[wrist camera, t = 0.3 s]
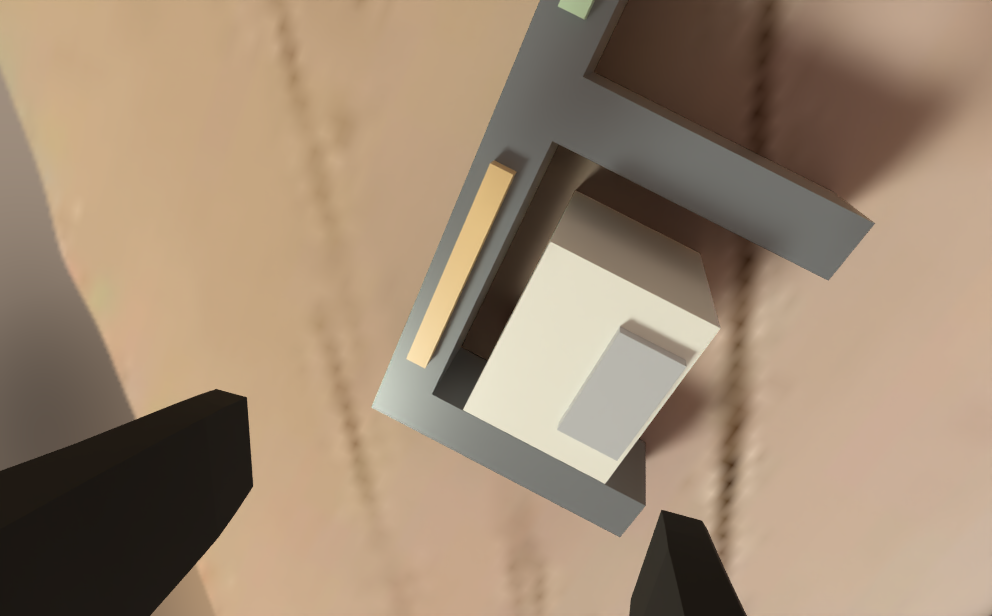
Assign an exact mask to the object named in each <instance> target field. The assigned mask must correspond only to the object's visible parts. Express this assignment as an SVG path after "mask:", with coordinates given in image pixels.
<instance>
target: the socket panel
mask: <svg viewBox="0 0 992 616" xmlns="http://www.w3.org/2000/svg"><path fill="white" fill-rule="evenodd" d="M627 2H628V0H540V2H539V4H538V6H537V9H536V11H535V14H534V16H533V18H532V21H531V23H530V26H529V28H528V31H527V33H526V35H525V38H524V40H523V43H522V45H521V47H520V50H519V52H518V55H517V57H516V60H515V62H514V64H513V67H512V69H511V72H510V74H509V76H508V79H507V81H506V84H505V86H504V89H503V91H502V93H501V96H500V98H499V101H498V103H497V105H496V108H495V110H494V113H493V115H492V117H491V120H490V122H489V125H488V127H487V130H486V132H485V134H484V137H483V139H482V142H481V144H480V146H479V149H478V151H477V154H476V156H475V159H474V161H473V163H472V166H471V168H470V171H469V173H468V175H467V178H466V180H465V183H464V185H463V188H462V190H461V192H460V195H459V197H458V200H457V202H456V204H455V207H454V209H453V212H452V214H451V216H450V219H449V221H448V224H447V226H446V229H445V231H444V233H443V236H442V238H441V241H440V243H439V245H438V248H437V250H436V253H435V255H434V258H433V260H432V262H431V265H430V267H429V270H428V272H427V274H426V277H425V279H424V282H423V284H422V287H421V289H420V291H419V294H418V296H417V299H416V301H415V303H414V306H413V308H412V311H411V313H410V315H409V318H408V320H407V323H406V325H405V328H404V330H403V332H402V335H401V337H400V340H399V342H398V344H397V347H396V349H395V352H394V354H393V357H392V359H391V361H390V364H389V366H388V369H387V371H386V373H385V376H384V378H383V381H382V383H381V385H380V388H379V390H378V393H377V395H376V398H375V400H374V402H373V405H372V408H374V409H375V410H377V411H379V412H381V413H383V414H385V415H387V416H389V417H391V418H393V419H395V420H396V421H398V422H400V423H402V424H404V425H406V426H408V427H410V428H412V429H414V430H416V431H418V432H419V433H421V434H423V435H425V436H427V437H429V438H431V439H433V440H435V441H437V442H439V443H440V444H442V445H444V446H446V447H448V448H450V449H452V450H454V451H456V452H458V453H460V454H462V455H463V456H465V457H467V458H469V459H471V460H473V461H475V462H477V463H479V464H481V465H483V466H485V467H486V468H488V469H490V470H492V471H494V472H496V473H498V474H500V475H502V476H504V477H506V478H507V479H509V480H511V481H513V482H515V483H517V484H519V485H521V486H523V487H525V488H527V489H529V490H530V491H532V492H534V493H536V494H538V495H540V496H542V497H544V498H546V499H548V500H550V501H551V502H553V503H555V504H557V505H559V506H561V507H563V508H565V509H567V510H569V511H571V512H573V513H574V514H576V515H578V516H580V517H582V518H584V519H586V520H588V521H590V522H592V523H594V524H596V525H597V526H599V527H601V528H603V529H605V530H607V531H609V532H611V533H613V534H615V535H617V536H618V537H621V535H622V534H623V533H624V532H625V530H626V529H627V528H628V527H629V526H630V524H631V523H632V522H633V521H634V519H635V518H636V517H637V516H638V514H639V513H640V512H641V511H642V510H643V508H644V507H645V506H646V462H645V442H643V441H641V440H639V439H638V440H637V442H636V443H635V444H634V446H633V447H632V448H631V450H630V451H629V452H628V454H627V455H626V456H625V458H624V459H623V460H622V462H621V463H620V464H619V466H618V467H617V468H616V470H615V471H614V473H613V474H612V475H611V477H610V478H609V479H608V481H607V482H606V483H605V484H604V483H602V482H600V481H598V480H597V479H595V478H593V477H591V476H589V475H587V474H585V473H583V472H581V471H579V470H577V469H575V468H573V467H571V466H570V465H568V464H566V463H564V462H562V461H560V460H558V459H556V458H554V457H552V456H550V455H548V454H546V453H545V452H543V451H541V450H539V449H537V448H535V447H533V446H531V445H529V444H527V443H525V442H523V441H521V440H520V439H518V438H516V437H514V436H512V435H510V434H508V433H506V432H504V431H502V430H500V429H498V428H496V427H494V426H493V425H491V424H489V423H487V422H485V421H483V420H481V419H479V418H477V417H475V416H473V415H471V414H469V413H468V412H466V411H464V410H463V409H464V407H465V405H466V403H467V401H468V399H469V397H470V395H471V393H472V391H473V389H474V387H475V385H476V383H477V381H478V379H479V377H480V375H481V373H482V371H483V369H484V367H485V365H486V363H487V361H486V360H484V359H482V358H481V357H479V356H477V355H475V354H473V353H471V352H469V351H467V350H465V349H463V348H461V346H462V344H463V342H464V340H465V338H466V336H467V334H468V332H469V330H470V327H471V325H472V323H473V321H474V319H475V317H476V315H477V313H478V311H479V309H480V307H481V305H482V303H483V300H484V298H485V296H486V294H487V292H488V290H489V288H490V286H491V284H492V282H493V280H494V278H495V276H496V274H497V271H498V269H499V267H500V265H501V263H502V261H503V259H504V257H505V255H506V253H507V251H508V249H509V247H510V244H511V242H512V240H513V238H514V236H515V234H516V232H517V230H518V228H519V226H520V224H521V222H522V220H523V218H524V215H525V213H526V211H527V209H528V207H529V205H530V203H531V201H532V199H533V197H534V195H535V193H536V191H537V188H538V186H539V184H540V182H541V180H542V178H543V176H544V174H545V172H546V170H547V168H548V166H549V164H550V162H551V159H552V157H553V155H554V153H555V151H556V149H557V147H558V145H561V146H563V147H565V148H567V149H569V150H571V151H573V152H575V153H577V154H579V155H581V156H583V157H585V158H587V159H589V160H591V161H593V162H595V163H597V164H599V165H601V166H603V167H604V168H606V169H608V170H610V171H612V172H614V173H616V174H618V175H620V176H622V177H624V178H626V179H628V180H630V181H632V182H634V183H636V184H638V185H640V186H642V187H644V188H646V189H648V190H650V191H652V192H654V193H656V194H658V195H660V196H662V197H664V198H666V199H668V200H670V201H672V202H674V203H676V204H678V205H680V206H682V207H684V208H686V209H688V210H690V211H692V212H694V213H696V214H698V215H700V216H702V217H703V218H705V219H707V220H709V221H711V222H713V223H715V224H717V225H719V226H721V227H723V228H725V229H727V230H729V231H731V232H733V233H735V234H737V235H739V236H741V237H743V238H745V239H747V240H749V241H751V242H753V243H755V244H757V245H759V246H761V247H763V248H765V249H767V250H769V251H771V252H773V253H775V254H777V255H779V256H781V257H783V258H785V259H787V260H789V261H791V262H793V263H795V264H797V265H799V266H800V267H802V268H804V269H806V270H808V271H810V272H812V273H814V274H816V275H818V276H820V277H822V278H824V279H826V280H828V281H829V279H830V278H831V277H832V276H833V274H834V273H835V272H836V271H837V269H838V268H839V267H840V266H841V265H842V263H843V262H844V261H845V260H846V258H847V257H848V256H849V255H850V253H851V252H852V251H853V250H854V249H855V247H856V246H857V245H858V244H859V242H860V241H861V240H862V239H863V237H864V236H865V235H866V234H867V233H868V231H869V230H870V229H871V228H872V226H873V225H874V224H875V223H874V222H873V221H871V220H870V219H869V218H867V217H866V216H865V215H863V214H862V213H861V212H859V211H858V210H857V209H855V208H854V207H853V206H851V205H850V204H849V203H847V202H846V201H845V200H843V199H842V198H841V197H839V196H838V195H837V194H835V193H834V192H832V191H830V190H828V189H826V188H824V187H822V186H820V185H818V184H816V183H814V182H812V181H810V180H808V179H806V178H804V177H802V176H800V175H798V174H796V173H794V172H792V171H790V170H788V169H786V168H784V167H782V166H780V165H778V164H776V163H774V162H772V161H770V160H768V159H766V158H764V157H762V156H760V155H758V154H756V153H754V152H752V151H750V150H748V149H746V148H744V147H742V146H740V145H738V144H736V143H734V142H732V141H730V140H728V139H726V138H724V137H722V136H720V135H718V134H716V133H714V132H712V131H710V130H708V129H706V128H704V127H702V126H700V125H698V124H696V123H694V122H692V121H690V120H688V119H686V118H684V117H682V116H680V115H678V114H676V113H674V112H672V111H670V110H668V109H666V108H664V107H662V106H660V105H658V104H656V103H654V102H652V101H650V100H648V99H646V98H644V97H642V96H640V95H638V94H636V93H634V92H632V91H630V90H628V89H626V88H624V87H622V86H620V85H618V84H616V83H614V82H612V81H610V80H608V79H606V78H605V77H603V76H601V75H599V74H597V73H595V72H594V70H595V68H596V66H597V64H598V62H599V60H600V58H601V56H602V54H603V52H604V50H605V47H606V45H607V43H608V41H609V39H610V37H611V35H612V33H613V31H614V29H615V27H616V25H617V23H618V21H619V18H620V16H621V14H622V12H623V10H624V8H625V6H626V4H627Z"/></svg>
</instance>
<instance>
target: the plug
mask: <svg viewBox="0 0 992 616" xmlns="http://www.w3.org/2000/svg"><path fill="white" fill-rule="evenodd" d="M719 330H720V325H719V321H718V317H717V314H716V310H715V306H714V303H713V299H712V295H711V292H710V288H709V284H708V281H707V277H706V273H705V269H704V266H703V262H702V258H701V255H700V253H698V252H696V251H694V250H692V249H690V248H688V247H686V246H685V245H683V244H681V243H679V242H677V241H675V240H673V239H671V238H669V237H667V236H665V235H663V234H661V233H659V232H657V231H655V230H653V229H651V228H649V227H647V226H645V225H643V224H641V223H639V222H637V221H635V220H633V219H631V218H629V217H627V216H625V215H623V214H621V213H619V212H617V211H615V210H614V209H612V208H610V207H608V206H606V205H604V204H602V203H600V202H598V201H596V200H594V199H592V198H590V197H588V196H586V195H584V194H582V193H580V192H578V191H576V190H575V192H574V194H573V196H572V198H571V200H570V201H569V203H568V205H567V207H566V209H565V211H564V213H563V215H562V217H561V219H560V221H559V223H558V225H557V227H556V229H555V230H554V232H553V234H552V236H551V238H550V240H549V242H548V244H547V246H546V248H545V250H544V252H543V254H542V256H541V258H540V259H539V261H538V263H537V265H536V267H535V269H534V271H533V273H532V275H531V277H530V279H529V281H528V283H527V285H526V287H525V288H524V290H523V292H522V294H521V296H520V298H519V300H518V302H517V304H516V306H515V308H514V310H513V312H512V314H511V316H510V317H509V319H508V321H507V323H506V325H505V327H504V329H503V331H502V333H501V335H500V337H499V339H498V341H497V343H496V345H495V347H494V349H493V351H492V353H491V355H490V357H489V359H488V361H487V363H486V365H485V367H484V369H483V371H482V373H481V375H480V377H479V379H478V381H477V383H476V385H475V387H474V389H473V391H472V393H471V395H470V397H469V399H468V401H467V403H466V405H465V407H464V409H463V410H464V411H466V412H468V413H469V414H471V415H473V416H475V417H477V418H479V419H481V420H483V421H485V422H487V423H489V424H491V425H493V426H494V427H496V428H498V429H500V430H502V431H504V432H506V433H508V434H510V435H512V436H514V437H516V438H518V439H520V440H521V441H523V442H525V443H527V444H529V445H531V446H533V447H535V448H537V449H539V450H541V451H543V452H545V453H546V454H548V455H550V456H552V457H554V458H556V459H558V460H560V461H562V462H564V463H566V464H568V465H570V466H571V467H573V468H575V469H577V470H579V471H581V472H583V473H585V474H587V475H589V476H591V477H593V478H595V479H597V480H598V481H600V482H602V483H604V484H605V483H606V482H607V481H608V479H609V478H610V477H611V475H612V474H613V473H614V471H615V470H616V468H617V467H618V466H619V464H620V463H621V462H622V460H623V459H624V458H625V456H626V455H627V454H628V452H629V451H630V450H631V448H632V447H633V446H634V444H635V443H636V442H637V440H638V439H639V437H640V436H641V435H642V433H643V432H644V431H645V429H646V428H647V427H648V425H649V424H650V423H651V421H652V420H653V419H654V417H655V416H656V415H657V413H658V412H659V411H660V409H661V408H662V406H663V405H664V404H665V402H666V401H667V400H668V398H669V397H670V396H671V394H672V393H673V392H674V390H675V389H676V388H677V386H678V385H679V384H680V382H681V381H682V380H683V378H684V377H685V375H686V374H687V373H688V371H689V370H690V369H691V367H692V366H693V365H694V363H695V362H696V361H697V359H698V358H699V357H700V355H701V354H702V353H703V351H704V350H705V349H706V347H707V346H708V344H709V343H710V342H711V340H712V339H713V338H714V336H715V335H716V334H717V332H718V331H719Z"/></svg>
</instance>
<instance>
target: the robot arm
mask: <svg viewBox="0 0 992 616" xmlns="http://www.w3.org/2000/svg"><path fill="white" fill-rule="evenodd" d="M252 487H253V477H252V463H251V449H250V435H249V421H248V407H247V397H243V396H240V395H236V394H232V393H229V392H225V391H221V390H218V389H215V390H212V391H209V392H206V393H203V394H200V395H198V396H195V397H192V398H189V399H187V400H184V401H182V402H179V403H176V404H174V405H171V406H169V407H166V408H164V409H161V410H159V411H156V412H154V413H151V414H149V415H146V416H144V417H141V418H139V419H136V420H134V421H131V422H129V423H126V424H124V425H121V426H119V427H117V428H114V429H111V430H109V431H106V432H104V433H101V434H98V435H96V436H93V437H91V438H88V439H86V440H84V441H81V442H78V443H76V444H73V445H71V446H68V447H65V448H62V449H60V450H57V451H54V452H51V453H49V454H46V455H43V456H41V457H38V458H35V459H32V460H30V461H27V462H24V463H21V464H18V465H16V466H13V467H10V468H7V469H5V470H2V471H0V616H150V615H151V614H152V613H153V612H154V611H155V609H156V608H157V607H158V606H159V605H160V604H161V603H162V601H163V600H164V599H165V598H166V597H167V596H168V595H169V594H170V592H171V591H172V590H173V589H174V588H175V587H176V586H177V584H178V583H179V582H180V581H181V580H182V579H183V578H184V577H185V575H186V574H187V573H188V572H189V571H190V570H191V569H192V567H193V566H194V565H195V564H196V563H197V562H198V561H199V559H200V558H201V557H202V556H203V555H204V554H205V553H206V551H207V550H208V549H209V548H210V547H211V545H212V544H213V543H214V542H215V541H216V540H217V538H218V537H219V536H220V534H221V533H222V532H223V530H224V529H225V527H226V526H227V524H228V523H229V522H230V520H231V519H232V517H233V516H234V515H235V513H236V512H237V510H238V509H239V507H240V506H241V504H242V503H243V501H244V499H245V498H246V496H247V495H248V493H249V492H250V490H251V489H252ZM629 616H747V615H746V613H745V611H744V609H743V607H742V605H741V603H740V601H739V599H738V596H737V594H736V592H735V590H734V588H733V586H732V584H731V582H730V580H729V577H728V575H727V573H726V571H725V569H724V567H723V564H722V562H721V560H720V558H719V555H718V553H717V551H716V549H715V546H714V544H713V542H712V539H711V537H710V535H709V533H708V530H707V528H706V527H705V525H704V523H703V522H702V521H701V520H697V519H694V518H690V517H686V516H683V515H679V514H675V513H672V512H668V511H664V510H661V513H660V516H659V519H658V522H657V525H656V528H655V530H654V533H653V536H652V539H651V542H650V545H649V548H648V551H647V554H646V557H645V560H644V562H643V565H642V568H641V571H640V574H639V577H638V580H637V583H636V586H635V589H634V592H633V594H632V597H631V604H630V614H629Z"/></svg>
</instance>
